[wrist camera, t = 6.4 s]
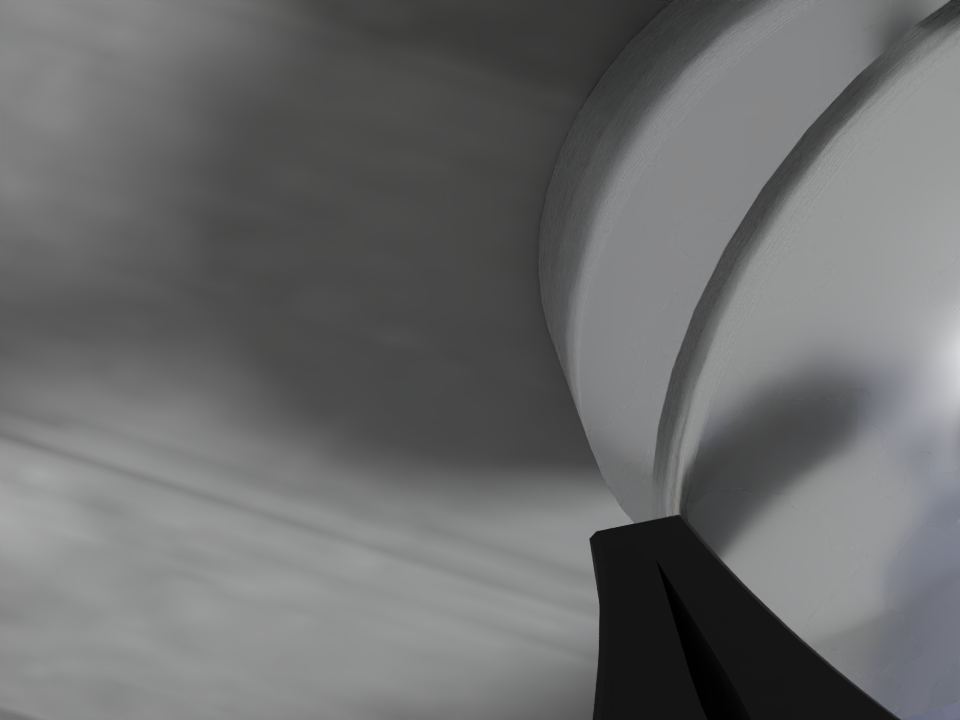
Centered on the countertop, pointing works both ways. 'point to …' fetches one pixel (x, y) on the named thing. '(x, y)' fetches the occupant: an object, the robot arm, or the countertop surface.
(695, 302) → the pot
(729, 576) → the robot arm
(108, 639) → the countertop surface
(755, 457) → the lid
